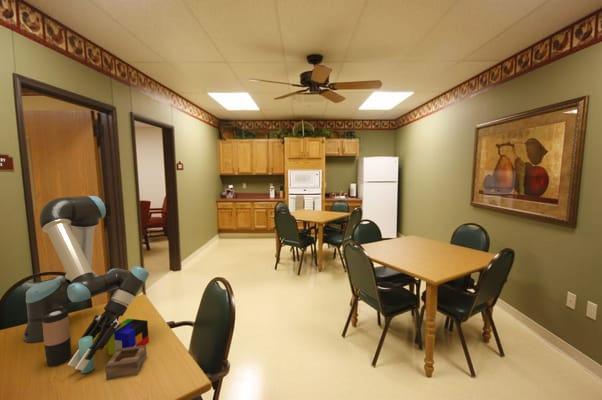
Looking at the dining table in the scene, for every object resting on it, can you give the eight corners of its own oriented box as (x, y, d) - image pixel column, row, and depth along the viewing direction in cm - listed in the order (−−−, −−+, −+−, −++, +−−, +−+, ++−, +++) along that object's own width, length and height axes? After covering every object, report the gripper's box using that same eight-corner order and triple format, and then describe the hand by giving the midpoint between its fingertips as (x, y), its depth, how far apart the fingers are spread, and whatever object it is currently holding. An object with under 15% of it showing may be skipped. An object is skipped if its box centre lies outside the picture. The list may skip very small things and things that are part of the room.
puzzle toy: (129, 357, 107) (128, 333, 106) (108, 354, 109) (107, 331, 108) (148, 342, 116) (147, 320, 116) (129, 340, 118) (127, 318, 118)
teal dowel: (84, 366, 101) (82, 336, 100) (96, 364, 102) (94, 335, 101) (78, 374, 97) (75, 343, 96) (91, 372, 98) (88, 341, 97)
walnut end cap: (118, 361, 105) (117, 348, 104) (146, 356, 107) (146, 345, 106) (106, 379, 95) (105, 366, 94) (137, 374, 97) (136, 361, 97)
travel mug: (42, 370, 100) (37, 319, 98) (50, 358, 107) (45, 310, 105) (68, 363, 104) (64, 314, 102) (74, 352, 110) (70, 305, 109)
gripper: (139, 310, 109) (98, 376, 95) (113, 302, 116) (71, 363, 102) (125, 303, 103) (79, 372, 90) (99, 296, 110) (52, 358, 97)
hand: (75, 367), depth 96 cm, fingers closed on teal dowel, 4 cm apart
